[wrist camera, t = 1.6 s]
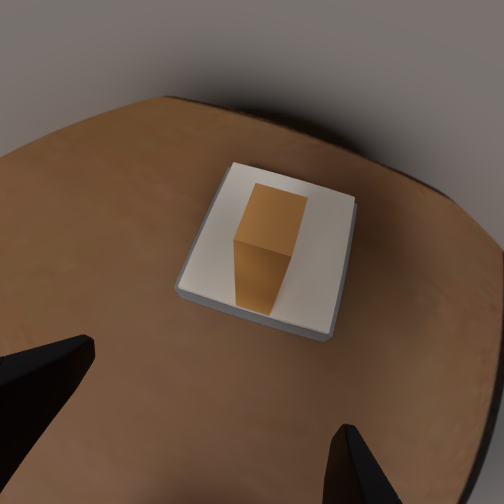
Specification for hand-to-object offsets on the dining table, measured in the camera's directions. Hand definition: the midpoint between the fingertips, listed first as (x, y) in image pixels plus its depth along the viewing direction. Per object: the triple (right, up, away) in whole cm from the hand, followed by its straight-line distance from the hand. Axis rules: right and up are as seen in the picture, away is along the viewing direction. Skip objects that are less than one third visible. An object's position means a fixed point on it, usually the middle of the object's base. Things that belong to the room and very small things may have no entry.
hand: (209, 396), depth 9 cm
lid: (+3, +6, +15) cm, 16 cm away
